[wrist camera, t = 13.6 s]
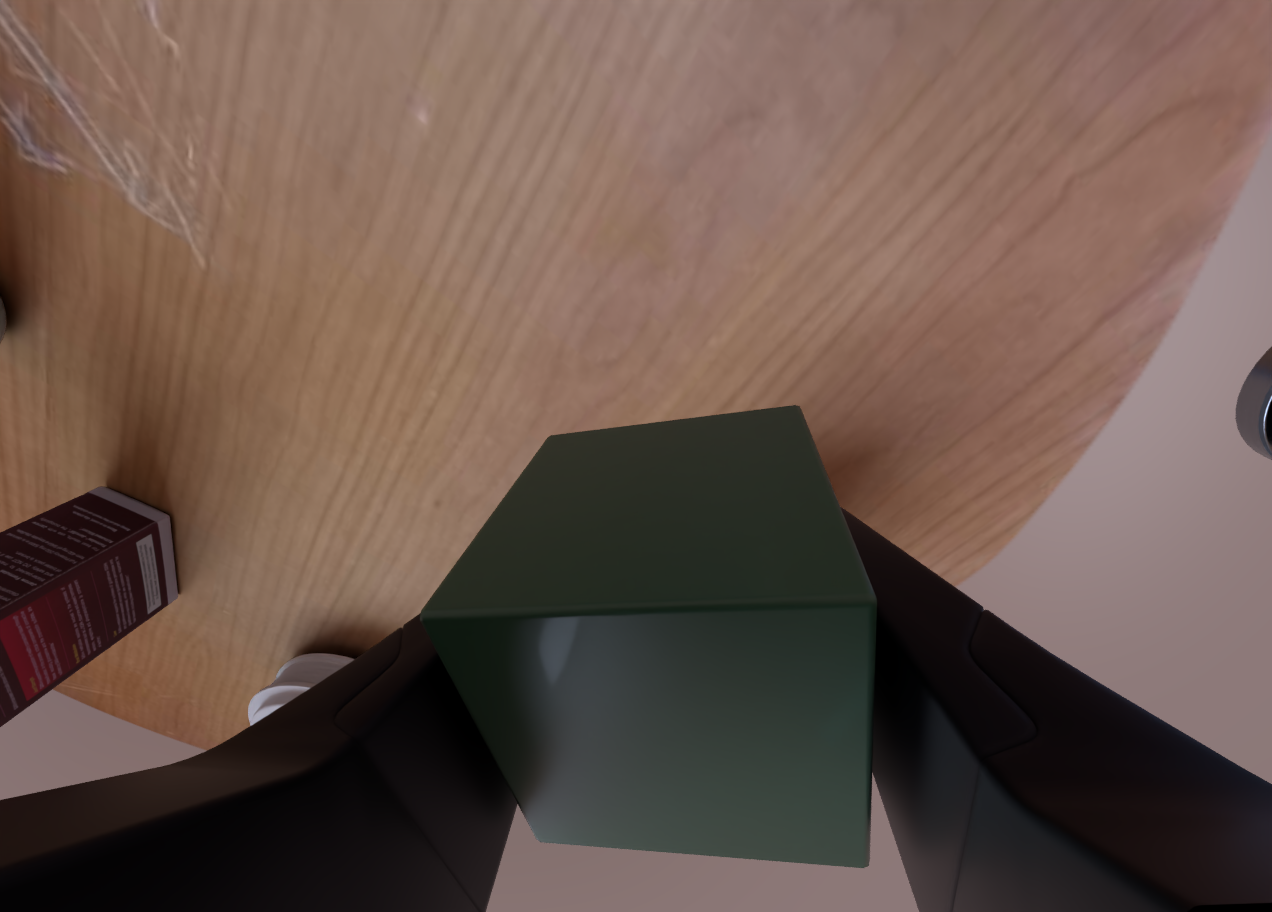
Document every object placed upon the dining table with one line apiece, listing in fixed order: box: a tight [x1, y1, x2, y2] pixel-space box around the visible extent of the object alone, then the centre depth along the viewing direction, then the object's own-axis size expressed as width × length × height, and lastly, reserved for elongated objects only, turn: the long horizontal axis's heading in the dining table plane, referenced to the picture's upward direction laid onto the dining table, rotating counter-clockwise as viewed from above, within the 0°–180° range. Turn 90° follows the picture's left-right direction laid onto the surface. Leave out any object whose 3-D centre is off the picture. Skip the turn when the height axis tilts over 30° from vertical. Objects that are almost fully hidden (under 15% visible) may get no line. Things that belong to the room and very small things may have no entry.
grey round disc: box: [248, 653, 354, 726], centre depth 35 cm, size 13×13×5 cm
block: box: [420, 405, 877, 868], centre depth 7 cm, size 4×4×4 cm
